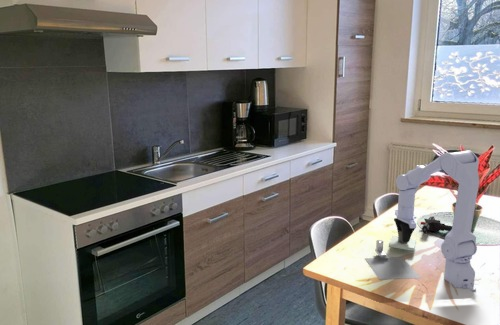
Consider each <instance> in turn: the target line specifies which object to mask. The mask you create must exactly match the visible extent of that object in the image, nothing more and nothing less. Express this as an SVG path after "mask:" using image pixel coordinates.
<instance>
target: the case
mask: <svg viewBox="0 0 500 325" xmlns="http://www.w3.org/2000/svg"><path fill="white" fill-rule="evenodd" d="M364 261H366V262H367V264H368V266H369V267H370V268H371V269H372V271H373V272H374V274H375V275H376V277H377V278H378V280H381V281H383V280H402V279H403V280H405V279H406V280H407V279H422V278H421V276H420V275H419V273H417V271H415V270H414V268H413V267H411V265H410V264H409V263H408V262H407V261H406V259H404V257H403V256H393V257H392V256H389V257H388V256H387V255H386V257H382V258H380V256H379V255H378V254H377V255H375V257H369V258H364Z"/></svg>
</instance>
